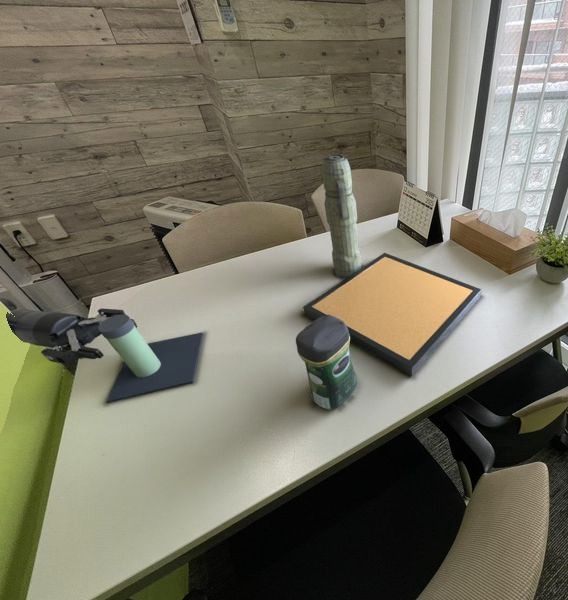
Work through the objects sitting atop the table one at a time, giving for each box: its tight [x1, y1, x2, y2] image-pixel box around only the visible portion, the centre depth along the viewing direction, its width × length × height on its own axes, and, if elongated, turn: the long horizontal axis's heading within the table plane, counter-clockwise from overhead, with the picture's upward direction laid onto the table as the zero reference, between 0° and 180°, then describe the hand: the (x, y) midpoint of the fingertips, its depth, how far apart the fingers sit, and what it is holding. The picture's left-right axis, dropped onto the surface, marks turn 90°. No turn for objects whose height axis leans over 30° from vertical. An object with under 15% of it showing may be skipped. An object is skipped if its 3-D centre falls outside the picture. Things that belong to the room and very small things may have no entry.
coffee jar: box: [295, 314, 358, 410], centre depth 63 cm, size 10×8×19 cm
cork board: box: [302, 252, 483, 377], centre depth 90 cm, size 36×3×35 cm
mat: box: [106, 332, 204, 404], centre depth 75 cm, size 16×16×1 cm
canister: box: [98, 314, 161, 377], centre depth 69 cm, size 5×5×14 cm
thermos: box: [321, 154, 363, 279], centre depth 94 cm, size 9×12×35 cm
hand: (118, 338), depth 68 cm, fingers open, 8 cm apart
